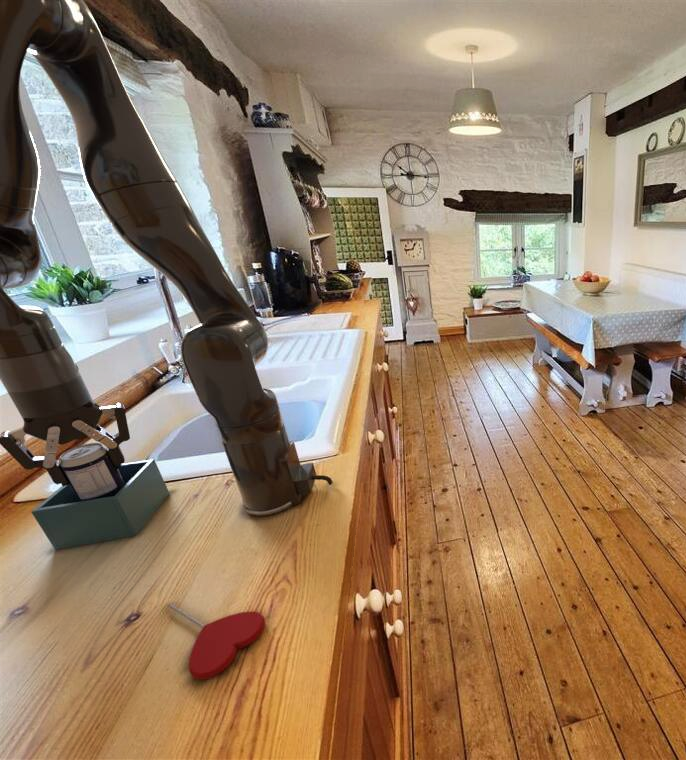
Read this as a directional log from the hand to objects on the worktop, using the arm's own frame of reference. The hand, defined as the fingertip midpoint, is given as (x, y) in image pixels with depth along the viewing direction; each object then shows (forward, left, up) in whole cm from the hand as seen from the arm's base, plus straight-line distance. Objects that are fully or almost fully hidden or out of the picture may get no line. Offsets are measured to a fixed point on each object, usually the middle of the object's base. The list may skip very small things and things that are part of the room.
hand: (93, 474), depth 66 cm
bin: (0, 0, -9) cm, 9 cm away
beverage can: (0, 0, -8) cm, 8 cm away
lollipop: (-24, +27, -9) cm, 37 cm away
